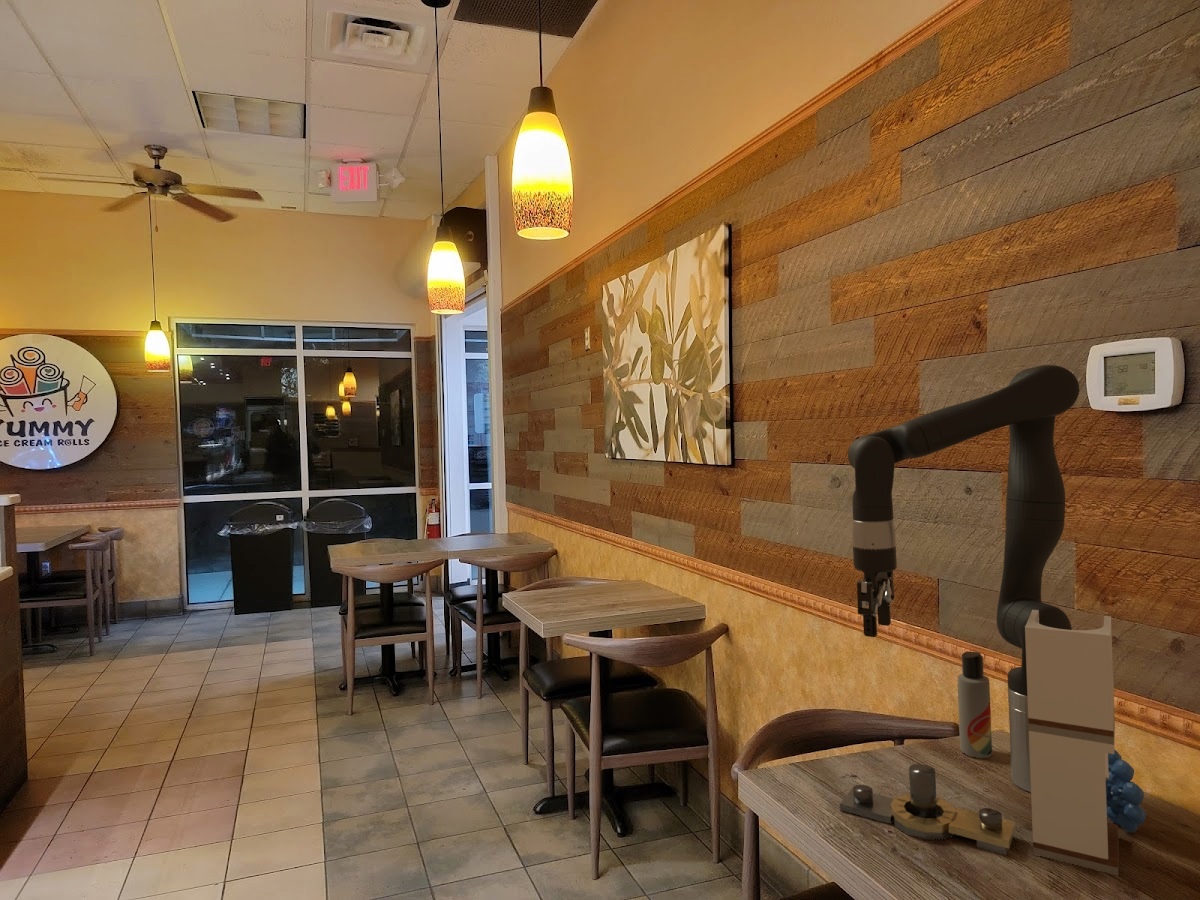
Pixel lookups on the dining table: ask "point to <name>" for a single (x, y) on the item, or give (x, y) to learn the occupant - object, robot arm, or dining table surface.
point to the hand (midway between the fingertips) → (877, 630)
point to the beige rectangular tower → (1071, 743)
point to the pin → (923, 791)
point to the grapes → (1123, 795)
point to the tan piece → (933, 819)
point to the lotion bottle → (974, 707)
